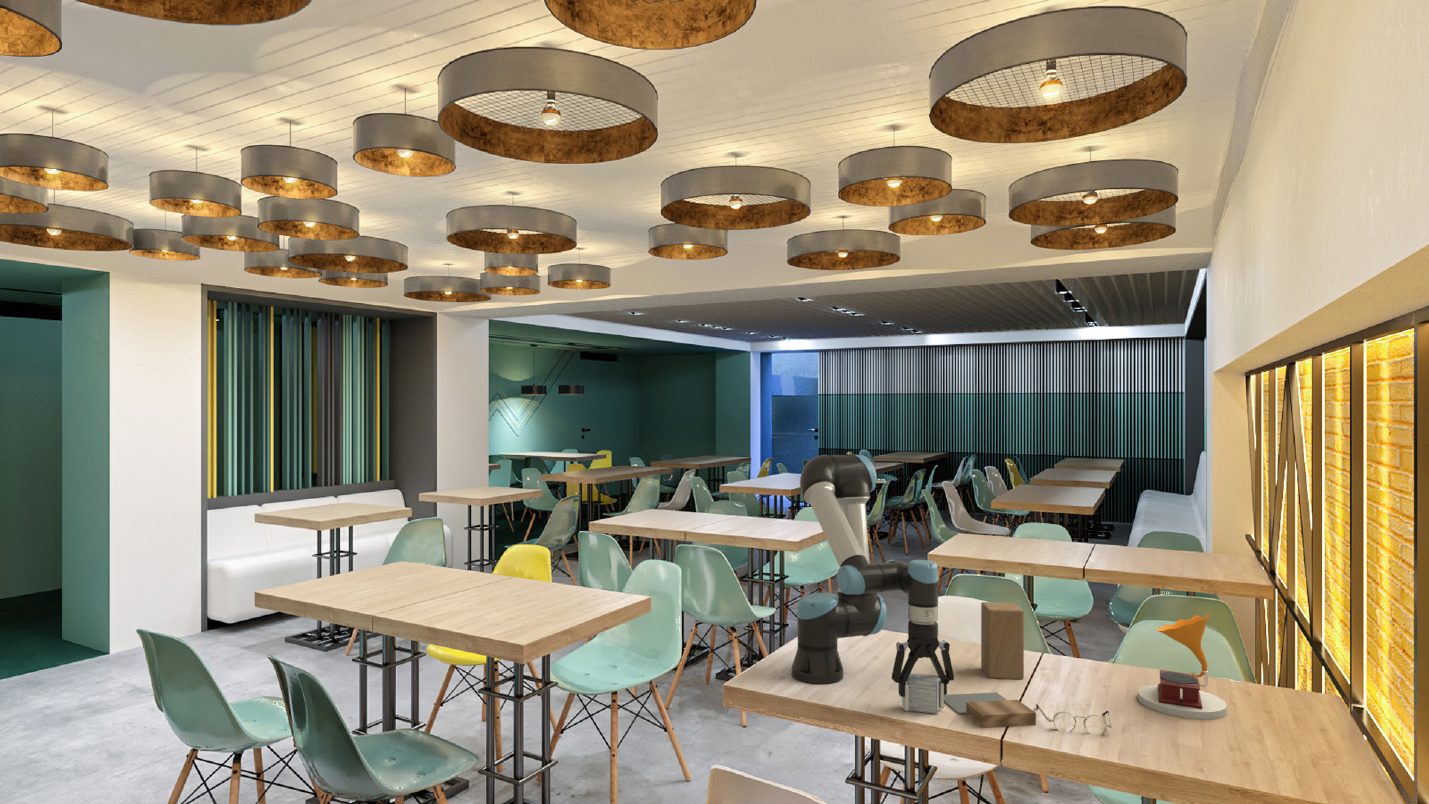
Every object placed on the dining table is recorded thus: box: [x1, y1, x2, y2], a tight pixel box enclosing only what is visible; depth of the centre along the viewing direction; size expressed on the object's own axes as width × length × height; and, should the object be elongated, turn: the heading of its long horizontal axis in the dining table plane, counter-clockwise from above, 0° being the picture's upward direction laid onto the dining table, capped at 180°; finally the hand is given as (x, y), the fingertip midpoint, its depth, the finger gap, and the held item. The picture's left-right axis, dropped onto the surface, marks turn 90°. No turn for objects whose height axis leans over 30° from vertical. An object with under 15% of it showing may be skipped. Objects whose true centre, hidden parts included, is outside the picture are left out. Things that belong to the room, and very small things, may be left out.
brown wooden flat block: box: [965, 699, 1037, 728], centre depth 203 cm, size 14×9×3 cm, turn 98°
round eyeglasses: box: [1035, 703, 1113, 736], centre depth 202 cm, size 17×15×5 cm
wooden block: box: [980, 601, 1025, 680], centre depth 239 cm, size 10×10×20 cm
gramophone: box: [1137, 613, 1228, 720], centre depth 214 cm, size 20×20×25 cm
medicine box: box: [906, 672, 940, 715], centre depth 209 cm, size 8×4×9 cm, turn 71°
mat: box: [944, 691, 1008, 715], centre depth 214 cm, size 17×13×1 cm
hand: (922, 707), depth 209 cm, fingers closed on medicine box, 9 cm apart
